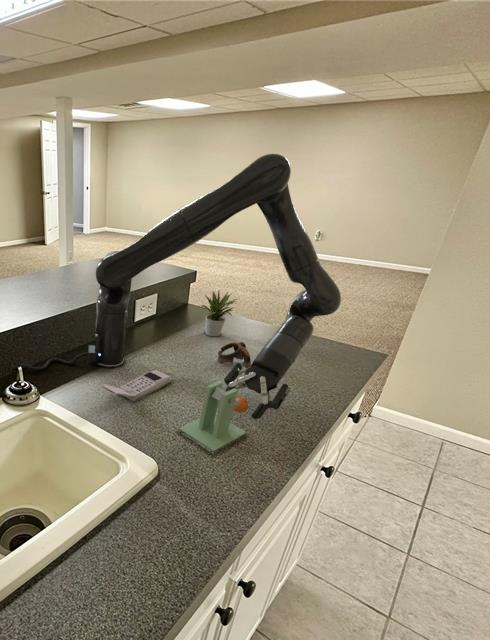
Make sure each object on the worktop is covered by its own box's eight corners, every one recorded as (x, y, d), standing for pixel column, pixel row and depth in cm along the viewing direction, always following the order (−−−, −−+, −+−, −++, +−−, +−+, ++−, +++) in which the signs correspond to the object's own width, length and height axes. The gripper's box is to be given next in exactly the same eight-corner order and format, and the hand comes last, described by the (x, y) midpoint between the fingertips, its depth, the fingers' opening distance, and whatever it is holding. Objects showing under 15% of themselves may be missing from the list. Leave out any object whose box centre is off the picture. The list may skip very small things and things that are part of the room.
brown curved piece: (250, 376, 121) (241, 354, 118) (219, 380, 128) (210, 359, 124) (258, 353, 129) (250, 332, 125) (229, 357, 135) (221, 337, 132)
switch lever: (233, 409, 99) (240, 396, 99) (245, 416, 97) (253, 403, 96) (207, 397, 89) (215, 383, 89) (220, 404, 87) (229, 389, 86)
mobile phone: (100, 384, 102) (160, 356, 117) (98, 403, 105) (158, 374, 120) (117, 394, 98) (178, 364, 113) (115, 414, 101) (174, 382, 116)
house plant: (226, 346, 140) (236, 300, 132) (188, 336, 146) (195, 292, 138) (237, 333, 150) (247, 290, 142) (200, 325, 157) (208, 283, 149)
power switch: (210, 417, 101) (220, 372, 95) (245, 437, 94) (258, 390, 88) (178, 433, 95) (186, 386, 88) (212, 455, 88) (224, 406, 81)
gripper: (247, 338, 100) (209, 390, 99) (303, 359, 90) (260, 418, 89) (254, 352, 105) (218, 402, 105) (308, 374, 95) (268, 429, 95)
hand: (237, 409), depth 97 cm, fingers open, 8 cm apart
